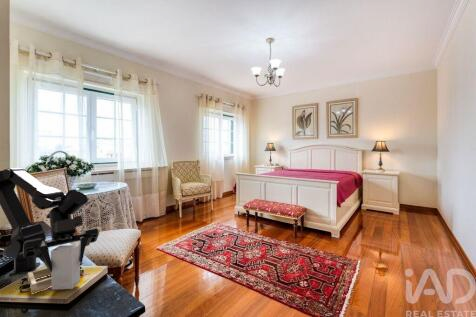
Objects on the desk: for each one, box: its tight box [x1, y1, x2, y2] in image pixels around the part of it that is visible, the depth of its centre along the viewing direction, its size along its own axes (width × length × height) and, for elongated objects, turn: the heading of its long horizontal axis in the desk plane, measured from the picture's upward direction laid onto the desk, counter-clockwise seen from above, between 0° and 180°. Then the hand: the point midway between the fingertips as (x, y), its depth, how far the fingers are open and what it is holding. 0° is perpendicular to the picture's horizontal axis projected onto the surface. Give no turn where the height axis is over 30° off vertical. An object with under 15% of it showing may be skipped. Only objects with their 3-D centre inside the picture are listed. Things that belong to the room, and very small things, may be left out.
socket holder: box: [27, 266, 52, 294], centre depth 72 cm, size 10×10×3 cm
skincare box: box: [50, 244, 81, 291], centre depth 68 cm, size 6×4×12 cm
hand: (66, 266), depth 67 cm, fingers closed on skincare box, 7 cm apart
